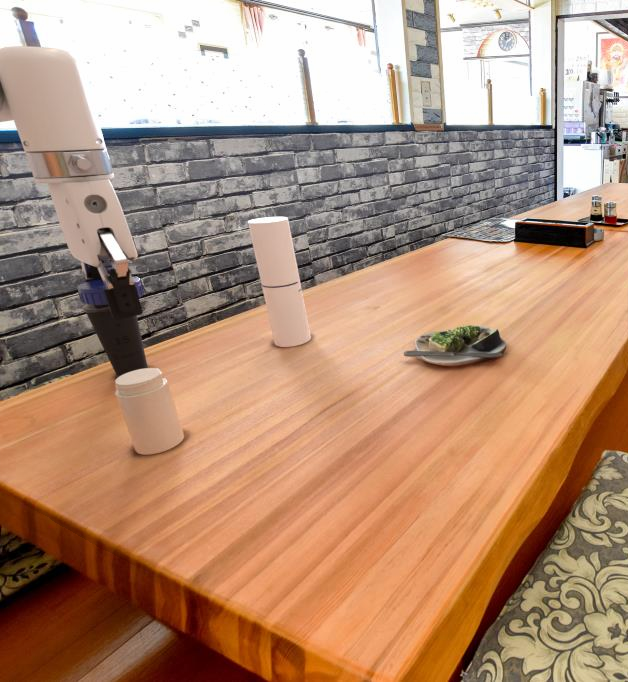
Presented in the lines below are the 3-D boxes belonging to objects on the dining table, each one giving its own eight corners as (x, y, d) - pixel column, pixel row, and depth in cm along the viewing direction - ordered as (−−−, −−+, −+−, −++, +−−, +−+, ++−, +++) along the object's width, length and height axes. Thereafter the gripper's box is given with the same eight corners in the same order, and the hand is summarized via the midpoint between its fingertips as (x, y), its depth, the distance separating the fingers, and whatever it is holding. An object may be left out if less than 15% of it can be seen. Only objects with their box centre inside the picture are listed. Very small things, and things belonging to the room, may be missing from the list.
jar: (130, 458, 72) (105, 389, 68) (141, 436, 77) (118, 371, 73) (180, 448, 74) (158, 380, 70) (187, 427, 79) (167, 363, 75)
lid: (149, 288, 72) (146, 274, 71) (137, 301, 66) (133, 286, 66) (91, 294, 70) (86, 279, 69) (73, 307, 64) (68, 291, 63)
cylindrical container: (266, 344, 109) (239, 222, 100) (291, 332, 115) (267, 216, 106) (294, 348, 107) (268, 223, 97) (318, 336, 113) (296, 217, 103)
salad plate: (411, 380, 91) (408, 356, 90) (397, 343, 107) (394, 322, 105) (516, 362, 97) (516, 339, 95) (489, 330, 113) (487, 309, 111)
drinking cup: (100, 375, 97) (61, 270, 90) (145, 360, 103) (113, 260, 96) (118, 385, 93) (79, 275, 86) (164, 369, 99) (131, 265, 92)
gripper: (135, 167, 60) (176, 316, 67) (88, 163, 70) (128, 293, 77) (52, 172, 54) (106, 334, 61) (14, 167, 65) (64, 306, 71)
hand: (118, 310), depth 69 cm, fingers closed on lid, 6 cm apart
